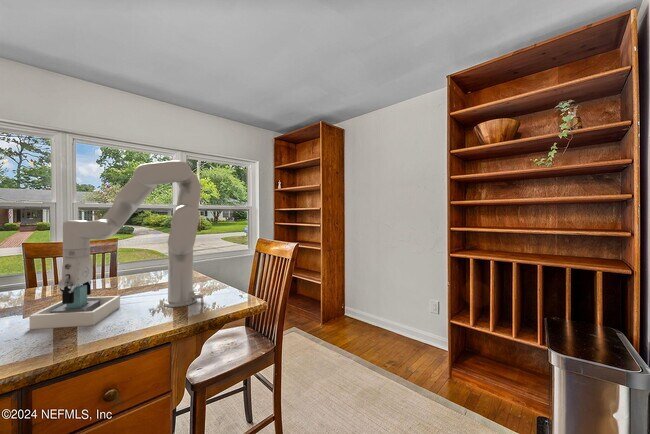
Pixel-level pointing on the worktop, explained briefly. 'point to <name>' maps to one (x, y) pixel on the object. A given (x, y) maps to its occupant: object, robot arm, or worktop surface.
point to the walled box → (74, 313)
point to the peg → (79, 297)
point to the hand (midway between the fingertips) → (77, 298)
